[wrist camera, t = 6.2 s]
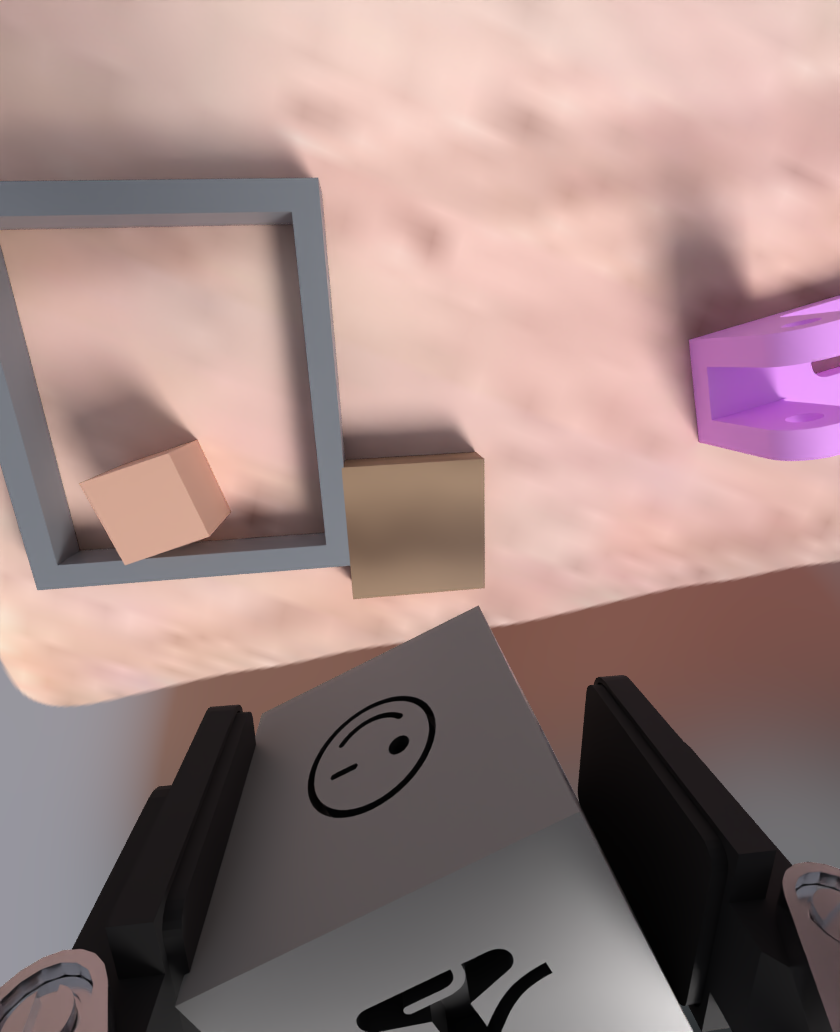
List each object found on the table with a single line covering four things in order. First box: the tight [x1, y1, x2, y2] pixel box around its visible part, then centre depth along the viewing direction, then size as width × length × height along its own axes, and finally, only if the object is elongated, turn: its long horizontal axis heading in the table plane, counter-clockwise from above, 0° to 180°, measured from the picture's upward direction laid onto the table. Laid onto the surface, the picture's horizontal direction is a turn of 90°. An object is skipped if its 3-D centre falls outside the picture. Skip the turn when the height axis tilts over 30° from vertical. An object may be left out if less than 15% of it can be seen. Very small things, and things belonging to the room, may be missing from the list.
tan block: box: [342, 452, 485, 599], centre depth 26 cm, size 7×7×2 cm
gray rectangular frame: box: [0, 178, 351, 590], centre depth 23 cm, size 17×15×2 cm
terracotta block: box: [79, 440, 231, 565], centre depth 24 cm, size 4×4×4 cm
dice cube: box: [175, 606, 693, 1032], centre depth 9 cm, size 5×5×5 cm
